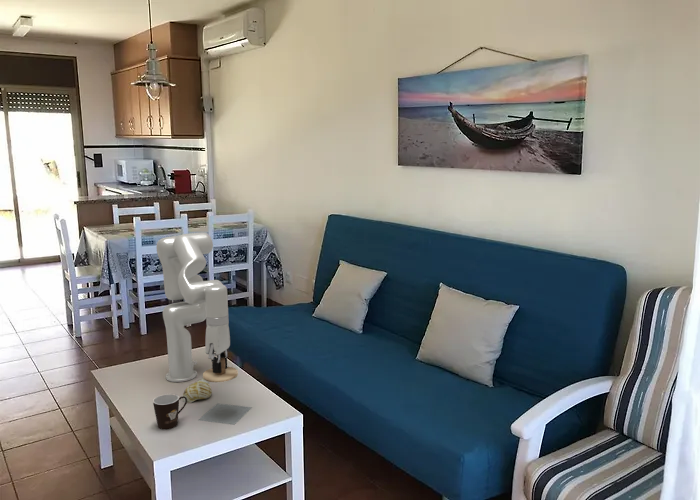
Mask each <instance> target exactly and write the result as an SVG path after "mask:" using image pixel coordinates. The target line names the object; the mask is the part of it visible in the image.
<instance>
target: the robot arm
mask: <svg viewBox="0 0 700 500" xmlns="http://www.w3.org/2000/svg"><path fill="white" fill-rule="evenodd" d="M213 247H214V243H213V239H212V237H211V236H210V234H209V233H207V232H205V231H204V232H203V231H202V232H201V231H200V232H193V233H192V232H191V233H190V232H189V233H183V234H179V235H173V236H166V237H162V238H160V239H158V241H157V243H156V254H157V257H158V259H159V262H160V264H161V267H162V275H163V285H164V294H165V297H166V299H168V300H169V301H177V300H179V301H180V300H185V301H180V302H174V303H170V304H168V305H166V306H165V307H164V308H163V310H162V319H163V323H164V326H165V333H166V342H167V343H166V345H167V357H168V358H167V359H168V372H167V373H166V374H165V379H166V380H167V381H168V382H172V383H182V382H188V381H191V380H193V379H195V378H196V377H197V376H198V372H197V370H196V369H194V367H195V366H197V365H198V361H197V360H196V359H195V360H193V351H192V335H191V332H190V331H189V330H188V329H187V328H186V327H185V326H187V325H193V324H197V323H201V322H204V321H206V329H205V340H204V341H205V354H206V355H208V357H207V358H208V360H210V361H211V366H212V369H213V373H222V369H221V362H220V358H225V369H227V367H228V350H229V348H230V346H231V336H230V335H231V334H230V327H229V323H230V322H229V306H228V305H229V304H228V303H229V302H228V301H229V300H228V287H227V286H226V285H225V284H223V283H222V281H220V280H218V279H211V280H204V278H203V277H202V276H201V275H199V273H200V272H202V271H203V270H204V269H205V267H206V265H207V260H206V257H205V256H204V255H208V254H211V252H212V250H213Z"/></svg>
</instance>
